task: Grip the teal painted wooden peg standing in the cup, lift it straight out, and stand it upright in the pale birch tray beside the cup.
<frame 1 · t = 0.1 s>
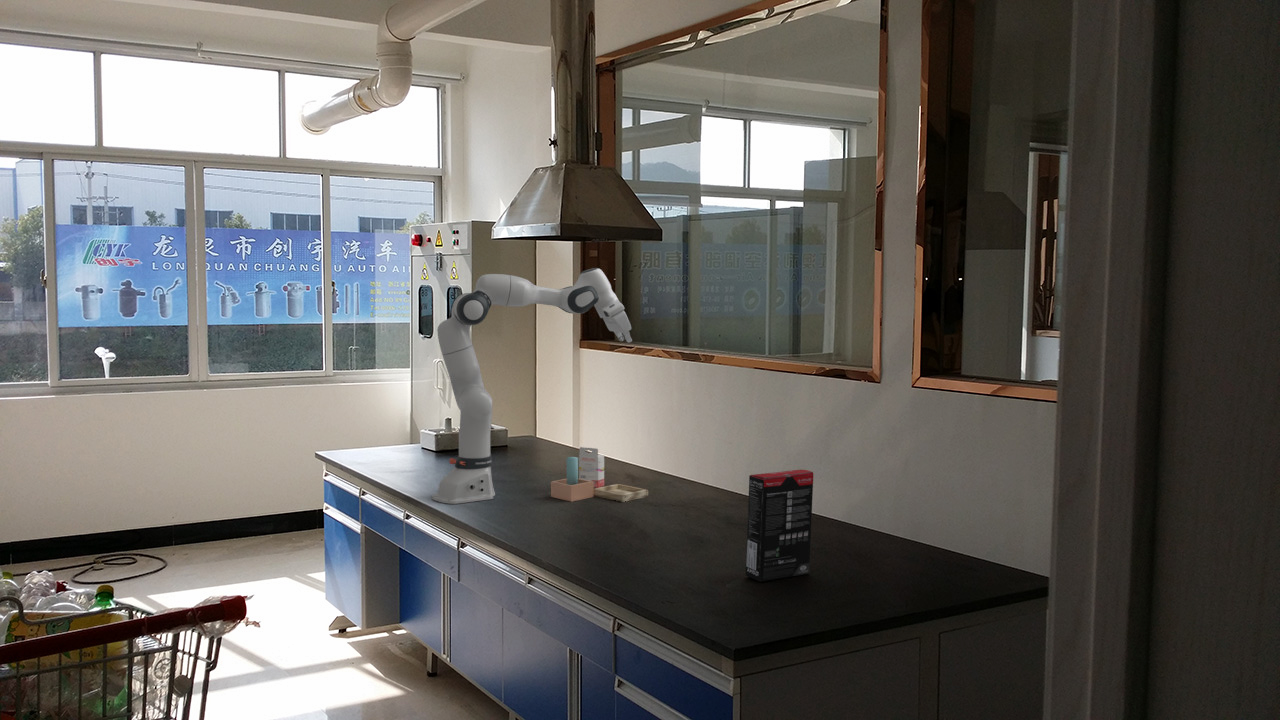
hand: (626, 341, 364), 54 cm above the worktop, tool tilted 30°, fingers open, 8 cm apart
birch tray: (620, 496, 352), on the worktop
ink cartridge box: (591, 486, 370), on the worktop
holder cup: (572, 496, 350), on the worktop
graphics card box: (778, 576, 257), on the worktop
teal peg: (572, 477, 350), in the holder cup
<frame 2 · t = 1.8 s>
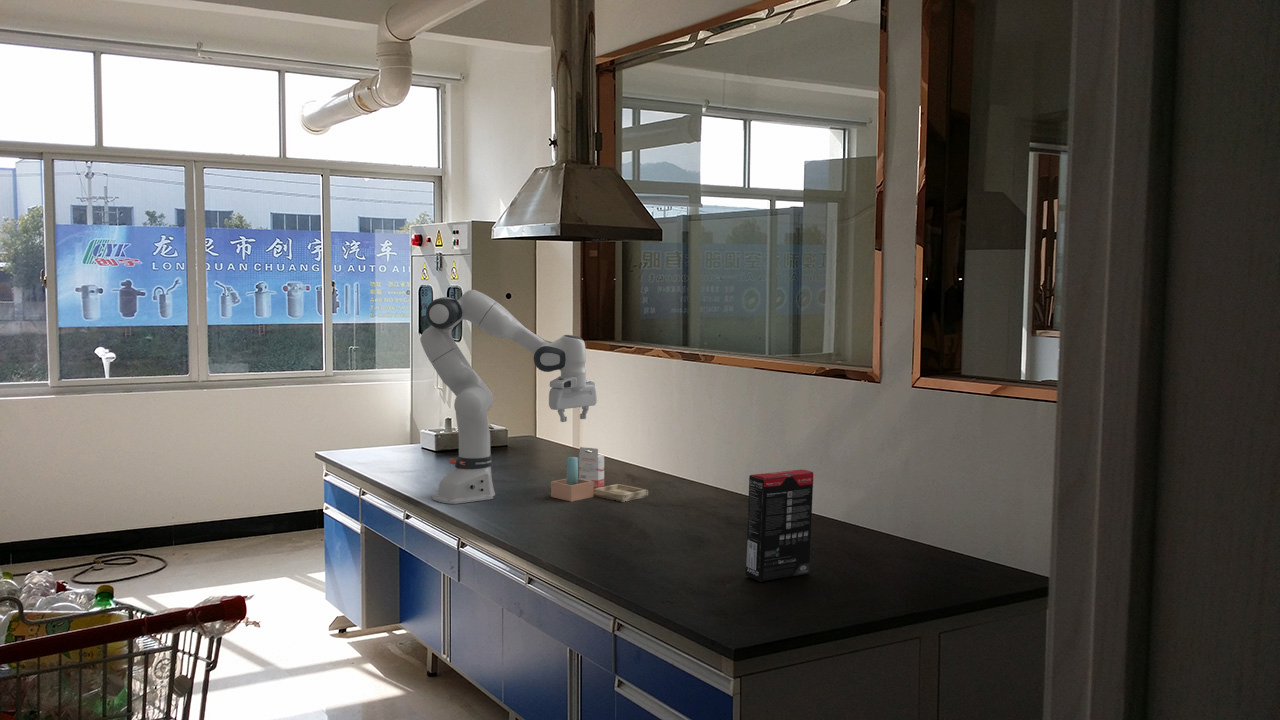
hand: (573, 420, 349), 27 cm above the worktop, tool pointing down, fingers open, 8 cm apart
nothing on the worktop moved.
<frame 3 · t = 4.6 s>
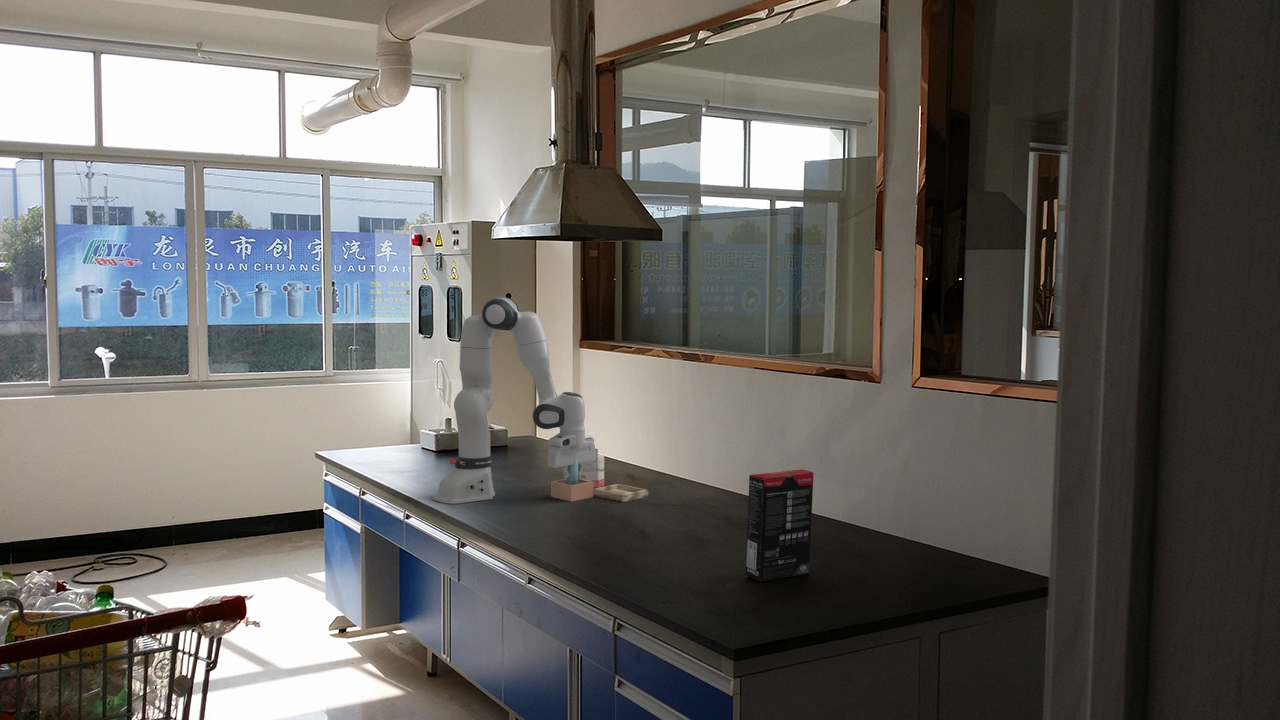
hand: (572, 477, 350), 7 cm above the worktop, tool pointing down, fingers closed on teal peg, 4 cm apart
teal peg: (572, 477, 350), in the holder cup, touching gripper
everything else where it was.
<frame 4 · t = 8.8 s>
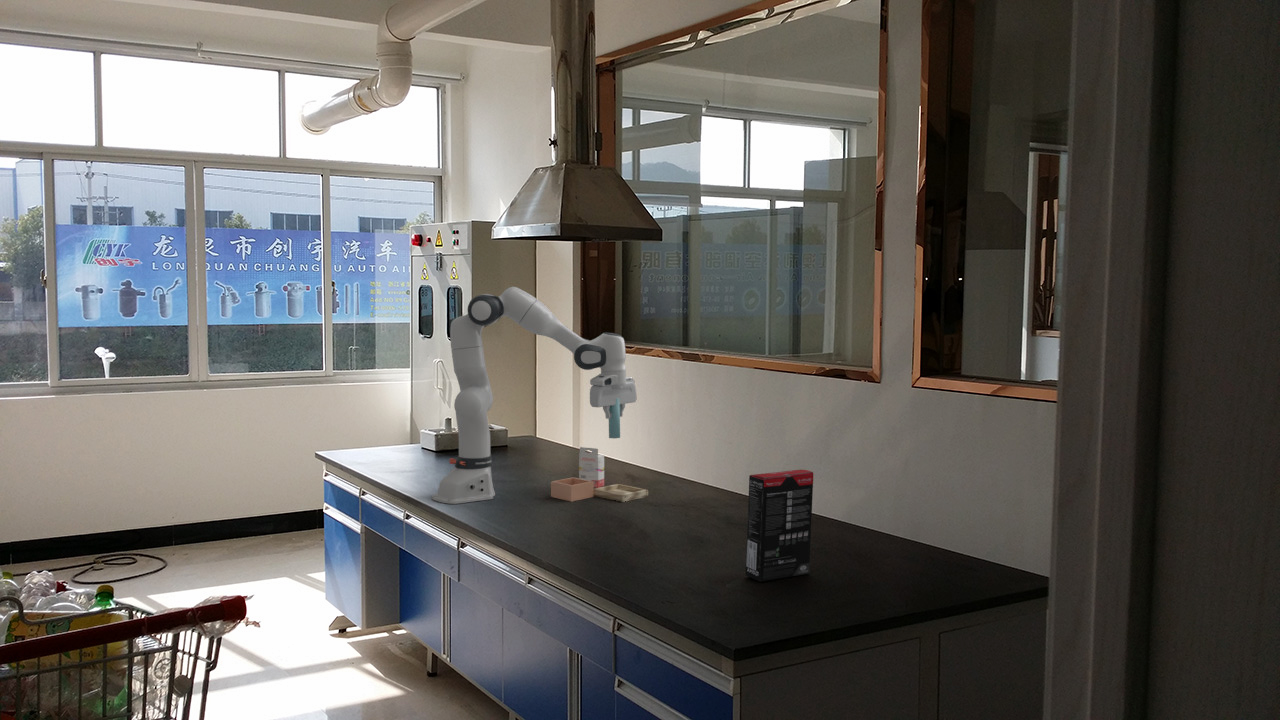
hand: (614, 417, 350), 28 cm above the worktop, tool pointing down, fingers closed on teal peg, 4 cm apart
teal peg: (614, 417, 350), point 28 cm above the worktop, touching gripper
everything else where it was.
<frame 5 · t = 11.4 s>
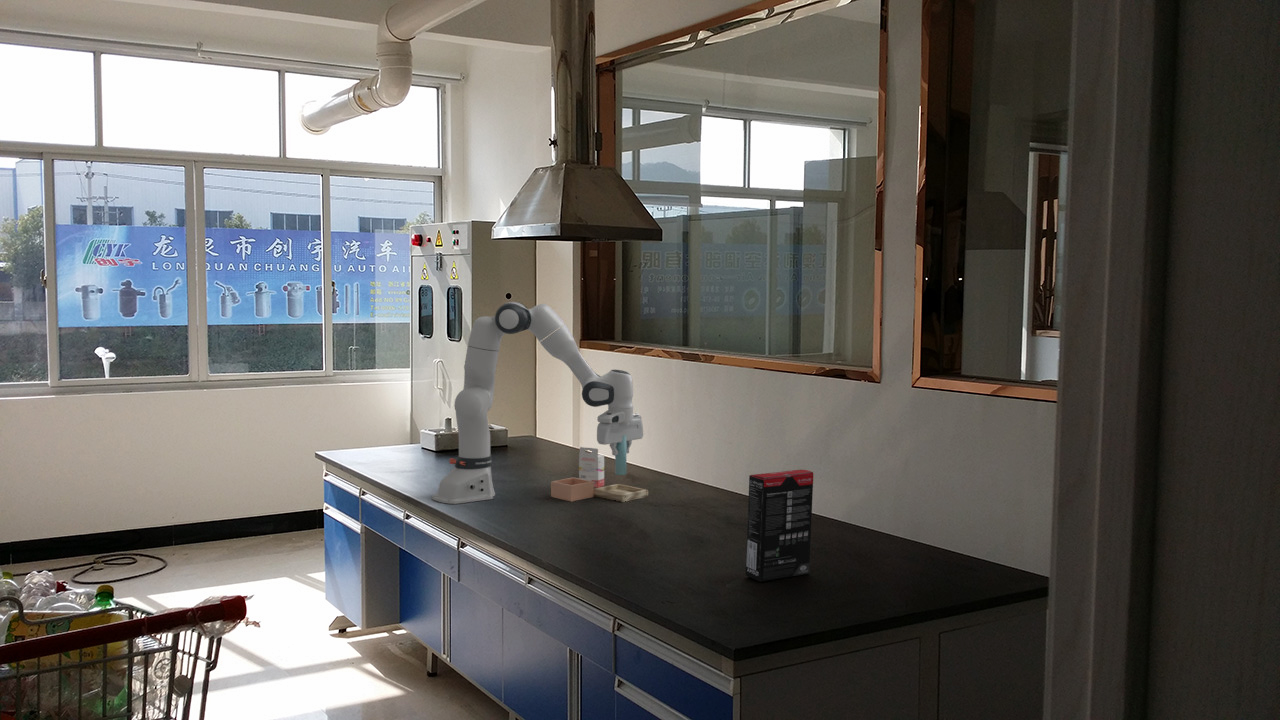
hand: (620, 454, 351), 15 cm above the worktop, tool pointing down, fingers closed on teal peg, 4 cm apart
teal peg: (620, 454, 351), point 15 cm above the worktop, touching gripper
everything else where it was.
when the fingers open (9 cm above the worktop, at t = 13.4 s): teal peg drops 1 cm, resting on birch tray.
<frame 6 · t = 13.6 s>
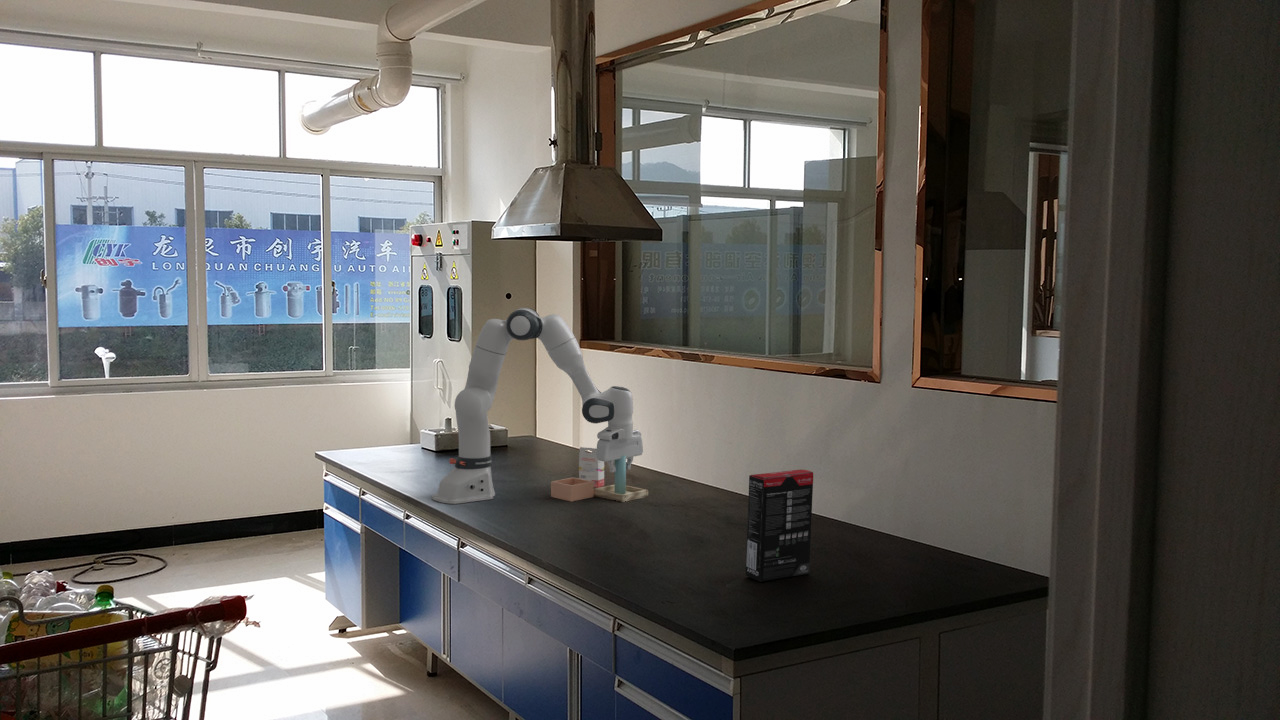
hand: (620, 470, 352), 9 cm above the worktop, tool pointing down, fingers open, 6 cm apart
teal peg: (620, 474, 351), in the birch tray, point 8 cm above the worktop
everything else where it was.
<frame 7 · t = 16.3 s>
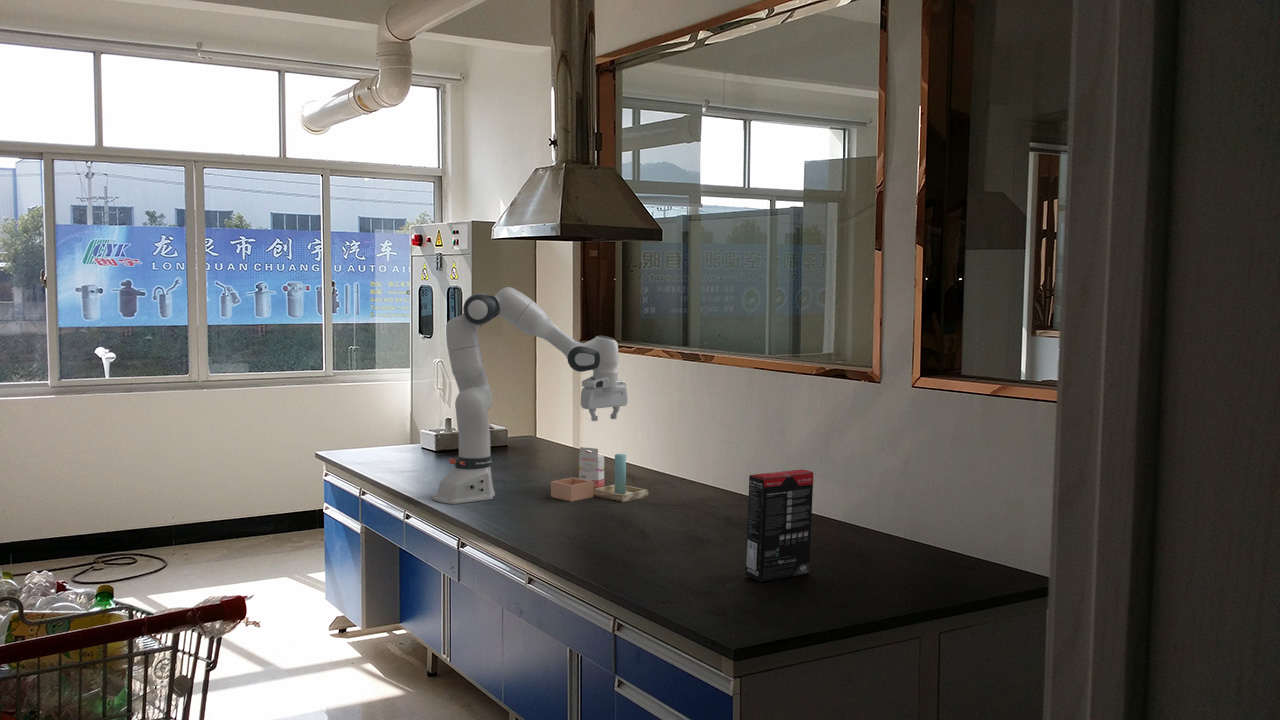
hand: (604, 419, 353), 27 cm above the worktop, tool pointing down, fingers open, 8 cm apart
nothing on the worktop moved.
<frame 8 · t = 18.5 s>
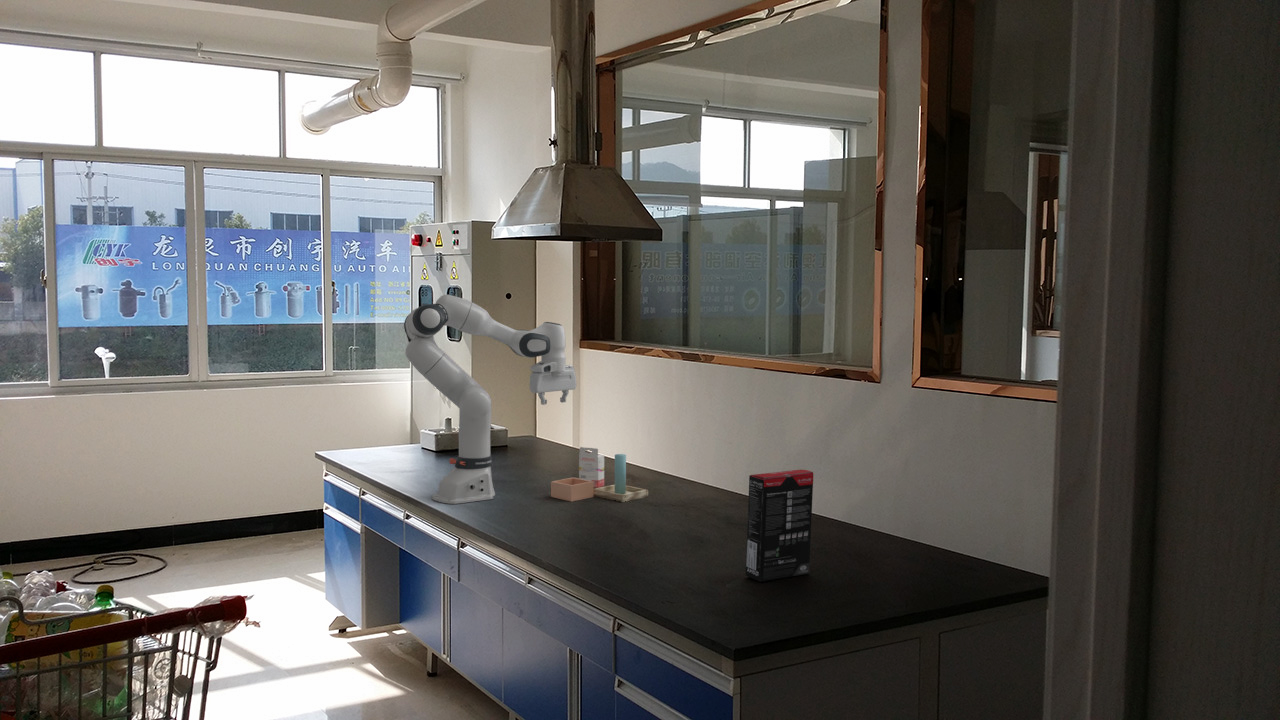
hand: (553, 403, 365), 31 cm above the worktop, tool pointing down, fingers open, 8 cm apart
nothing on the worktop moved.
at the end: teal peg inside the target area on the birch tray (0.0 cm from its centre), point 7.8 cm above the birch tray's base; teal peg tilted 0°; the gripper is holding nothing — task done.
